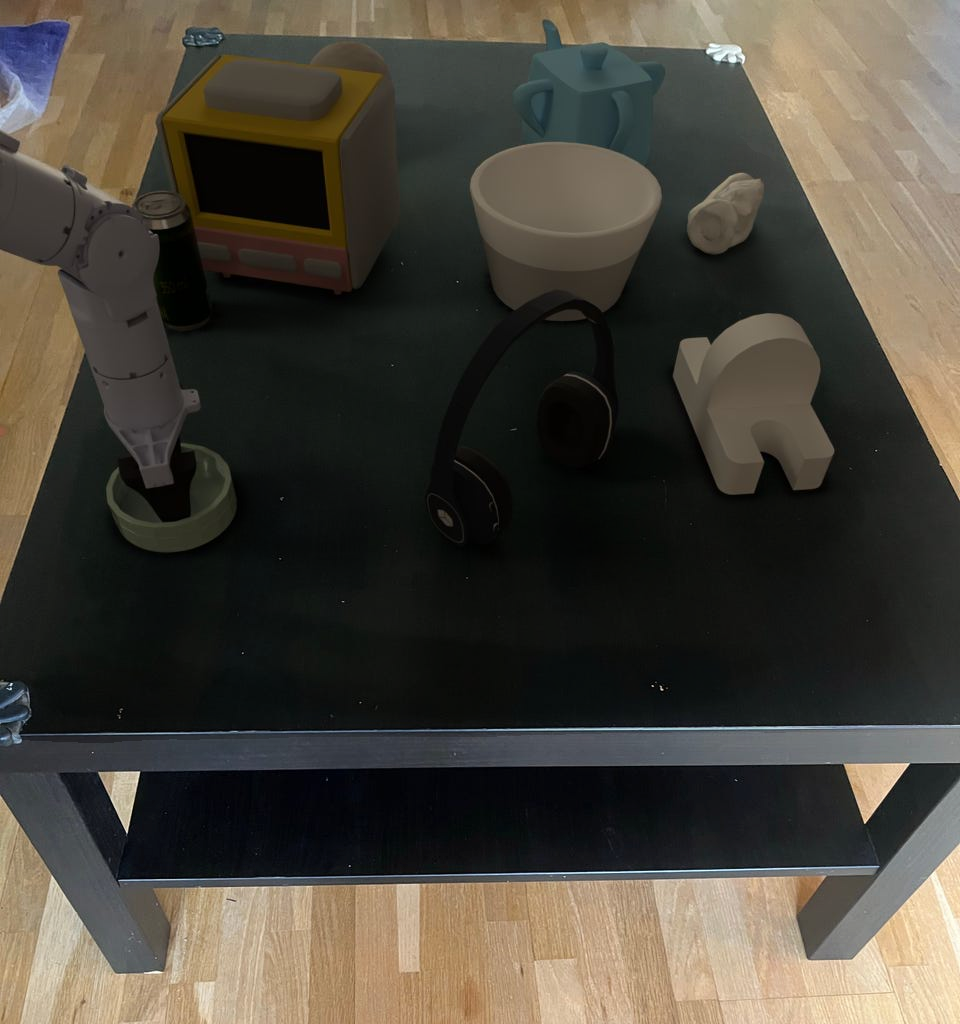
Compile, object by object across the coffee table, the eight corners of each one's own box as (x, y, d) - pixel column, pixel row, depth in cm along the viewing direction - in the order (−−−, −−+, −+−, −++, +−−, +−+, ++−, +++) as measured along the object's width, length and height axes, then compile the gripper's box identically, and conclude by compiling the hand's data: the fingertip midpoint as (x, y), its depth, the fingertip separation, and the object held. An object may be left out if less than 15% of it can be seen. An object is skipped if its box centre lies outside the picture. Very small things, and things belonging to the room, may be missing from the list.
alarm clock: (185, 284, 102) (141, 101, 88) (241, 211, 112) (209, 35, 97) (362, 312, 100) (347, 128, 85) (403, 234, 109) (396, 58, 95)
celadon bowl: (121, 563, 77) (110, 538, 75) (112, 481, 83) (102, 454, 81) (245, 539, 79) (238, 513, 77) (228, 460, 85) (221, 433, 83)
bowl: (524, 220, 112) (530, 124, 103) (674, 270, 106) (693, 174, 98) (433, 297, 102) (432, 198, 93) (594, 358, 96) (608, 258, 87)
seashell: (388, 174, 132) (344, 56, 127) (441, 141, 121) (394, 10, 115) (296, 206, 125) (245, 84, 120) (343, 174, 114) (289, 38, 109)
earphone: (472, 574, 78) (477, 389, 63) (413, 531, 80) (404, 344, 66) (624, 457, 87) (658, 271, 72) (565, 422, 90) (587, 237, 75)
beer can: (204, 297, 101) (178, 184, 91) (220, 324, 98) (195, 211, 88) (154, 310, 99) (122, 196, 90) (168, 338, 96) (137, 224, 87)
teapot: (666, 153, 123) (687, 37, 112) (620, 210, 114) (638, 89, 103) (537, 122, 128) (545, 7, 117) (482, 174, 118) (486, 54, 108)
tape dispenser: (720, 495, 84) (751, 395, 76) (670, 370, 95) (691, 270, 86) (825, 487, 85) (866, 387, 76) (763, 364, 96) (793, 264, 87)
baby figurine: (733, 204, 116) (786, 159, 109) (733, 289, 113) (788, 249, 105) (677, 175, 112) (728, 126, 105) (676, 262, 109) (729, 218, 102)
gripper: (197, 407, 66) (233, 544, 77) (175, 292, 74) (210, 430, 85) (91, 425, 64) (142, 562, 75) (81, 306, 73) (128, 444, 84)
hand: (173, 493), depth 80 cm, fingers closed on eraser, 6 cm apart
